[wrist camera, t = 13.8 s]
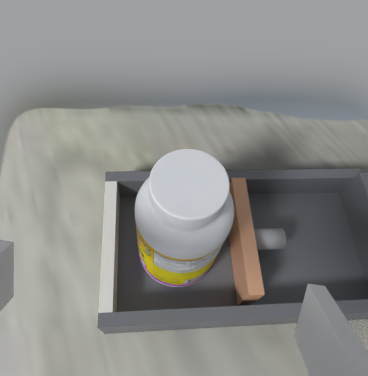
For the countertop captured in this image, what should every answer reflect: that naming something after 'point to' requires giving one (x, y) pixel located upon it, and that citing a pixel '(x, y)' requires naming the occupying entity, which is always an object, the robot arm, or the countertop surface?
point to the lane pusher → (249, 246)
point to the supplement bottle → (183, 216)
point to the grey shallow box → (269, 259)
